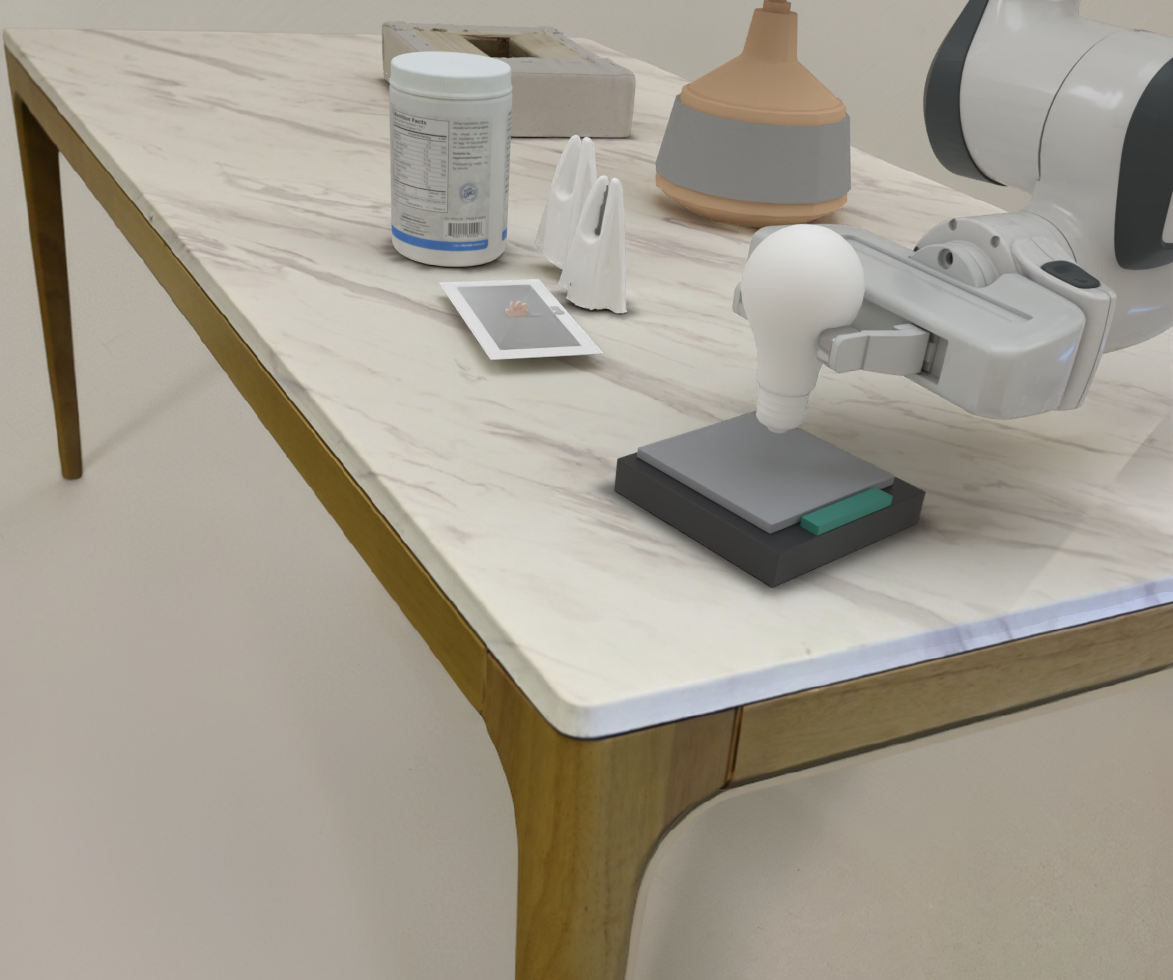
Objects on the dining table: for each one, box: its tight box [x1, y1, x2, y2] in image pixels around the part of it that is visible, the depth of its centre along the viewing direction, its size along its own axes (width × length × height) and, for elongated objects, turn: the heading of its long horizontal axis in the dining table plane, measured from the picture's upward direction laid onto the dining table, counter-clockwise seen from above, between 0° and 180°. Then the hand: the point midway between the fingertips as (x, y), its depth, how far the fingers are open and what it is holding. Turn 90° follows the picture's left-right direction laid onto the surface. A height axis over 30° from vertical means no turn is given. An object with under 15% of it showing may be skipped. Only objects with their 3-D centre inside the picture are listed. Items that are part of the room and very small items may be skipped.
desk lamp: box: [654, 0, 852, 229], centre depth 110 cm, size 22×19×37 cm
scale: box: [613, 410, 927, 588], centre depth 67 cm, size 12×12×3 cm
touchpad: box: [438, 278, 604, 361], centre depth 87 cm, size 8×15×2 cm, turn 19°
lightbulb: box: [740, 223, 865, 433], centre depth 63 cm, size 6×6×11 cm
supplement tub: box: [388, 51, 512, 268], centre depth 97 cm, size 10×10×15 cm
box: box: [381, 20, 637, 139], centre depth 149 cm, size 23×8×32 cm
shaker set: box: [533, 135, 628, 314], centre depth 93 cm, size 12×4×11 cm, turn 19°
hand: (782, 326), depth 62 cm, fingers closed on lightbulb, 6 cm apart
